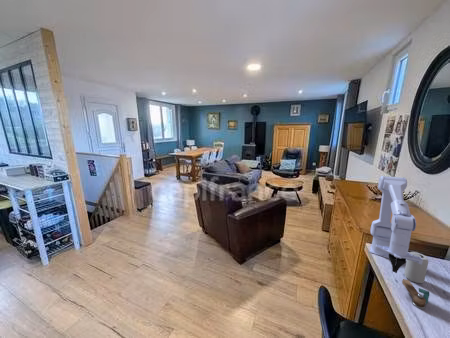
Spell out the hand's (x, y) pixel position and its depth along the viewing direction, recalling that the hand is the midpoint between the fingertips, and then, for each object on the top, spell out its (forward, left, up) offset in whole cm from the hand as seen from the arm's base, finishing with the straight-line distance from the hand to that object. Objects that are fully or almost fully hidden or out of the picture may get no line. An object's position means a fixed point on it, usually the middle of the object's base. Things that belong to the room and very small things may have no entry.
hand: (394, 271), depth 80 cm
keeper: (+3, +9, -7) cm, 11 cm away
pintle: (+7, +7, -7) cm, 12 cm away
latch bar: (+3, +6, -6) cm, 9 cm away
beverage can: (-10, +7, -7) cm, 14 cm away
